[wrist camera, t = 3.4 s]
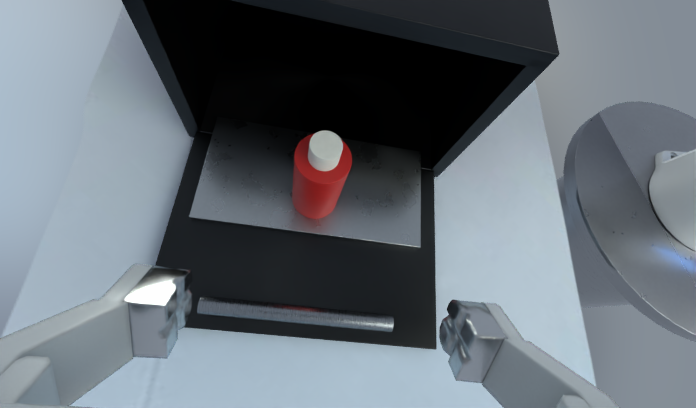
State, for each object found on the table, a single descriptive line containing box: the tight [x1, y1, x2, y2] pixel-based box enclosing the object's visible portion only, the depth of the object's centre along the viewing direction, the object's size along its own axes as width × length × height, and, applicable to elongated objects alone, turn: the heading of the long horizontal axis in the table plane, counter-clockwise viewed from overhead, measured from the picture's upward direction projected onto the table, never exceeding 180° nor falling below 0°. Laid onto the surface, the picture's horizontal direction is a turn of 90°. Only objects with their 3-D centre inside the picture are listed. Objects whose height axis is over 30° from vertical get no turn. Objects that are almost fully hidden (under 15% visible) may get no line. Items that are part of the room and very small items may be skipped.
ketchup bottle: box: [292, 130, 352, 219], centre depth 30 cm, size 5×5×11 cm
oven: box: [122, 0, 559, 349], centre depth 30 cm, size 42×30×20 cm
